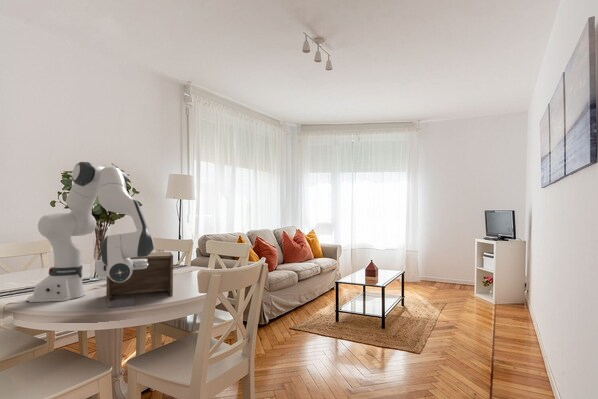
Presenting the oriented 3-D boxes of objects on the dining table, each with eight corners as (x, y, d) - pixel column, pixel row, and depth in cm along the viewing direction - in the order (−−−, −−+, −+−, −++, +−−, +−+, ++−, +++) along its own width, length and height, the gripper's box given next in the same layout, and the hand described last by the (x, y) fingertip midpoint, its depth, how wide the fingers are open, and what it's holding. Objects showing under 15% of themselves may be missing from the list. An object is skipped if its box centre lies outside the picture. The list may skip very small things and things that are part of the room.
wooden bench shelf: (172, 295, 180) (173, 255, 180) (106, 301, 169) (106, 258, 169) (170, 289, 194) (170, 252, 194) (108, 294, 183) (109, 254, 183)
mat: (108, 307, 158) (108, 306, 158) (109, 302, 168) (109, 300, 168) (134, 305, 162) (134, 303, 162) (134, 300, 171) (134, 298, 171)
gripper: (149, 257, 158) (148, 254, 170) (93, 260, 150) (96, 256, 162) (149, 272, 157) (148, 268, 170) (93, 276, 149) (96, 271, 162)
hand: (122, 262), depth 166 cm, fingers closed on block, 4 cm apart
